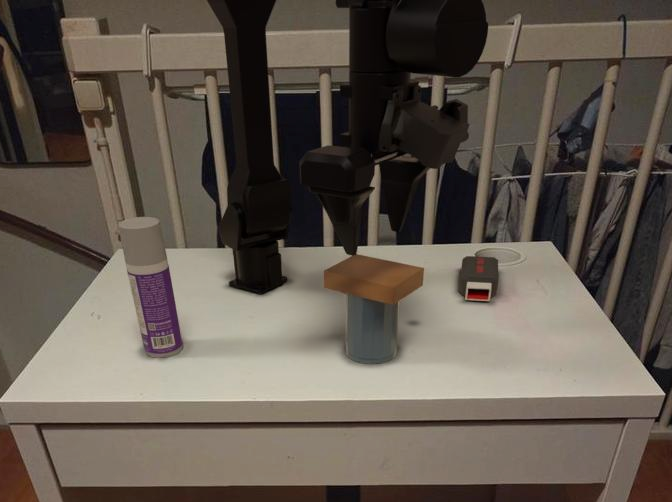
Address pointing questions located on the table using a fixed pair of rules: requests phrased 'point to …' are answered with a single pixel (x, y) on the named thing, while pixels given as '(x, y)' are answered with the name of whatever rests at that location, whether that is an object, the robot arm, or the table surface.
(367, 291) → the wooden block
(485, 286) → the usb drive
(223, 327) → the table surface
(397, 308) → the cup
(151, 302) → the container
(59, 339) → the table surface
